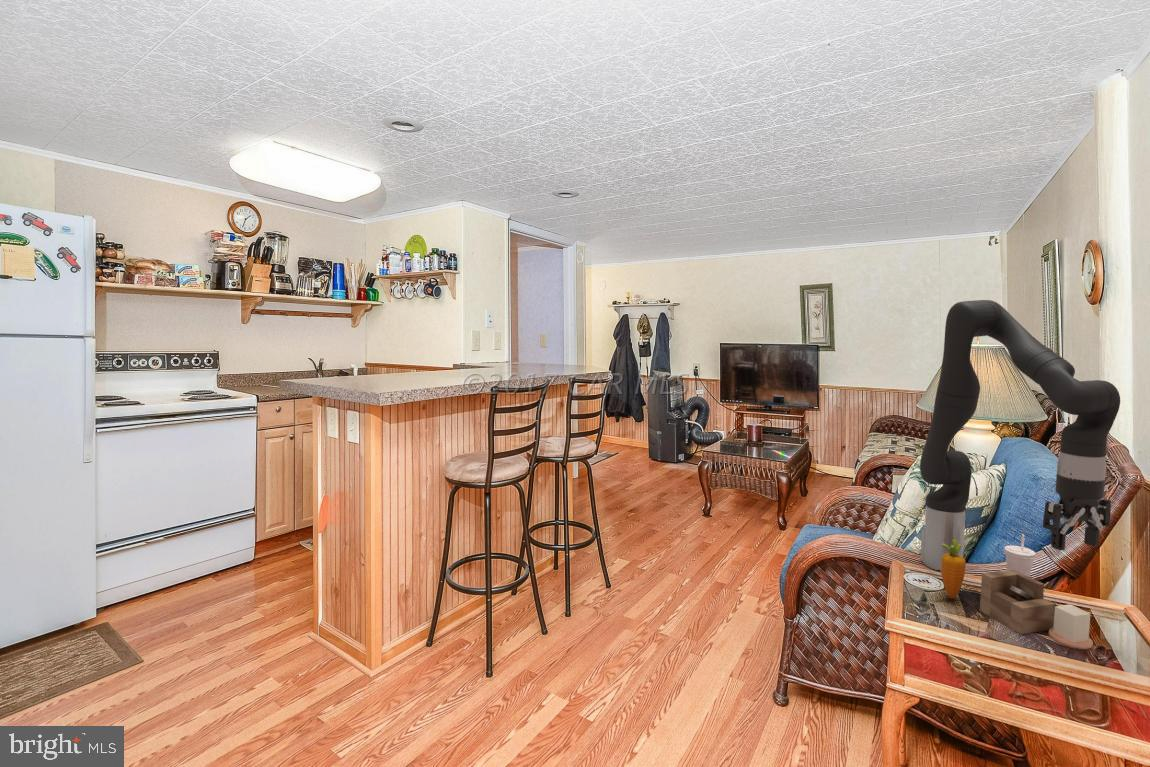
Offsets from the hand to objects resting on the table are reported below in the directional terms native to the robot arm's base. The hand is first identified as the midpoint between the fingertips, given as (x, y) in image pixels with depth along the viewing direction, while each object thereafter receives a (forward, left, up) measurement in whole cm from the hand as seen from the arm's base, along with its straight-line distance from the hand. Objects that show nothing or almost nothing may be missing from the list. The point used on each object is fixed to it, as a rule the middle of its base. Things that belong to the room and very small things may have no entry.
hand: (1074, 547), depth 115 cm
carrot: (-19, -11, -21) cm, 30 cm away
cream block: (+1, -1, -20) cm, 20 cm away
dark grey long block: (-8, 0, -16) cm, 18 cm away
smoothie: (-21, +11, -21) cm, 31 cm away
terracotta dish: (+1, -1, -20) cm, 20 cm away
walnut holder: (-8, -4, -20) cm, 22 cm away
